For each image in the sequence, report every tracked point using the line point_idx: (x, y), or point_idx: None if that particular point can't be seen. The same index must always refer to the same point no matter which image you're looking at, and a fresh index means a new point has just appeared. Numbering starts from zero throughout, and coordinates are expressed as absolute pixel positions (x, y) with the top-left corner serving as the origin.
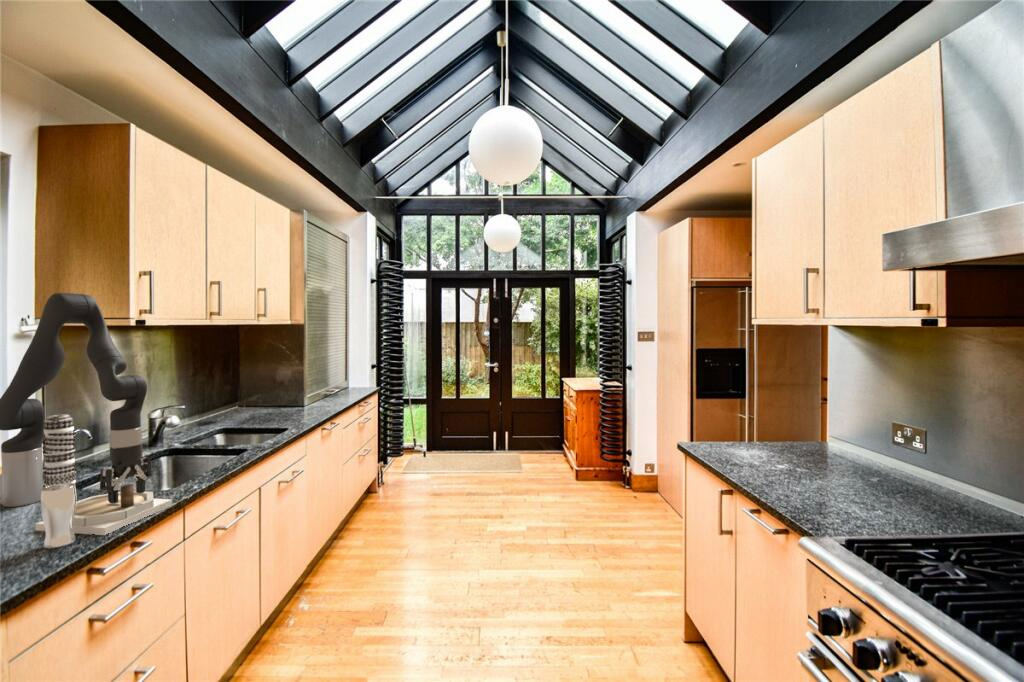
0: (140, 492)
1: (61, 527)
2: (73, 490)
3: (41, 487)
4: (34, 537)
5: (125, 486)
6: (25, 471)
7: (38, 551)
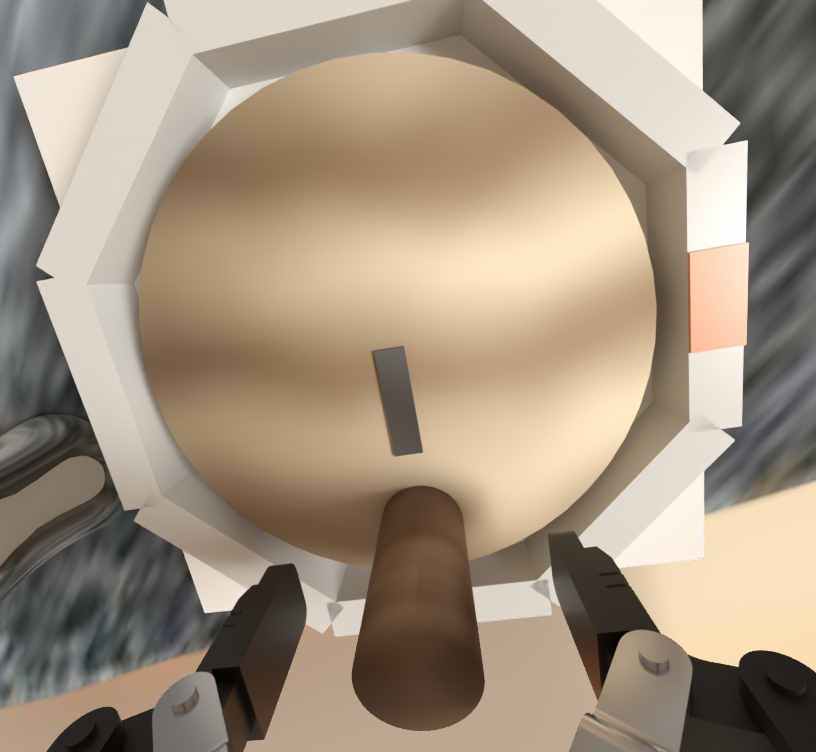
0: (553, 571)
1: None
2: None
3: None
4: (26, 238)
5: (394, 684)
6: None
7: None
